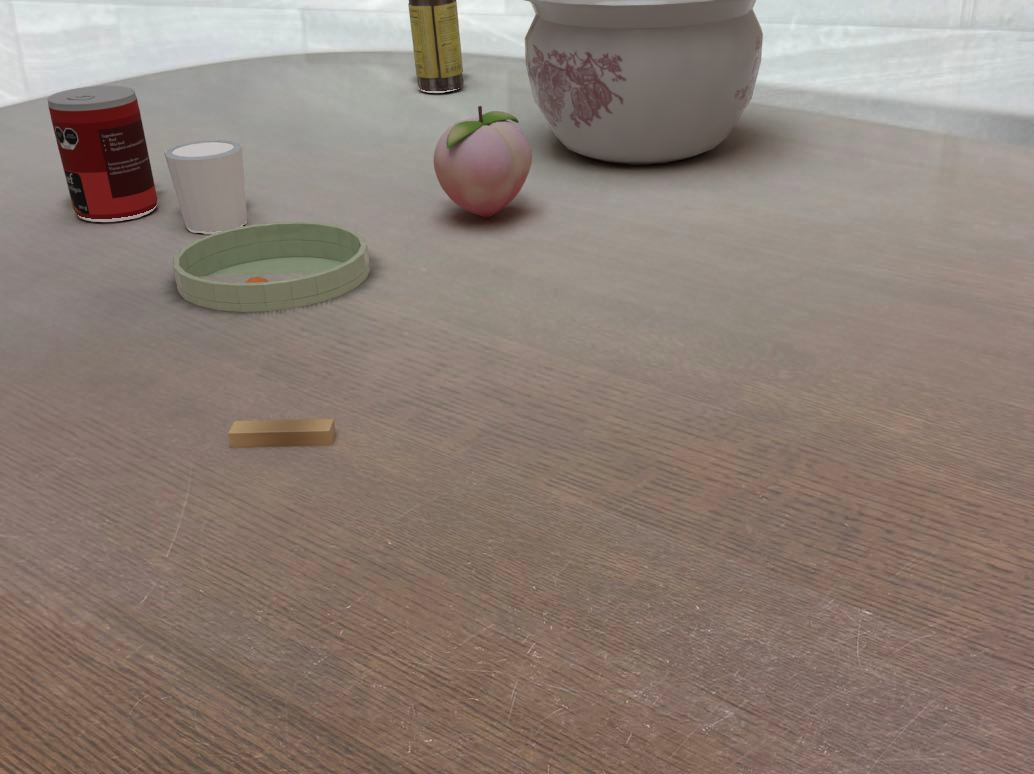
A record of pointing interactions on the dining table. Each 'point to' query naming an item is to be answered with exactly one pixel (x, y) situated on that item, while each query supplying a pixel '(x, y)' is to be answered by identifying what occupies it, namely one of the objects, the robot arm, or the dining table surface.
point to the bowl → (272, 265)
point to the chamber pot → (642, 74)
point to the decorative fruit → (483, 162)
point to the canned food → (103, 151)
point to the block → (282, 433)
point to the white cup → (209, 184)
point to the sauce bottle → (436, 44)
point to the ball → (256, 280)
